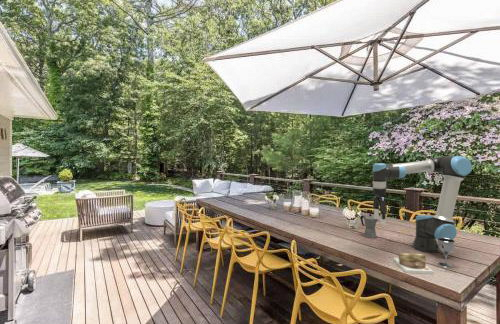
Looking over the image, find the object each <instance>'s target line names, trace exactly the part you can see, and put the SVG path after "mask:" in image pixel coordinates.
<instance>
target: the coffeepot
mask: <svg viewBox="0 0 500 324" xmlns="http://www.w3.org/2000/svg"><path fill="white" fill-rule="evenodd" d="M368 215H369V216H366V215H360V216H359V219H360V223H361V225H362V226H365V228H364V234H363V237H364V238H367V239H377V232H376V231H377V230H376V224H377V222H378V221H379V219H374V216H372V214H371V213H369V214H368Z"/></svg>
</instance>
